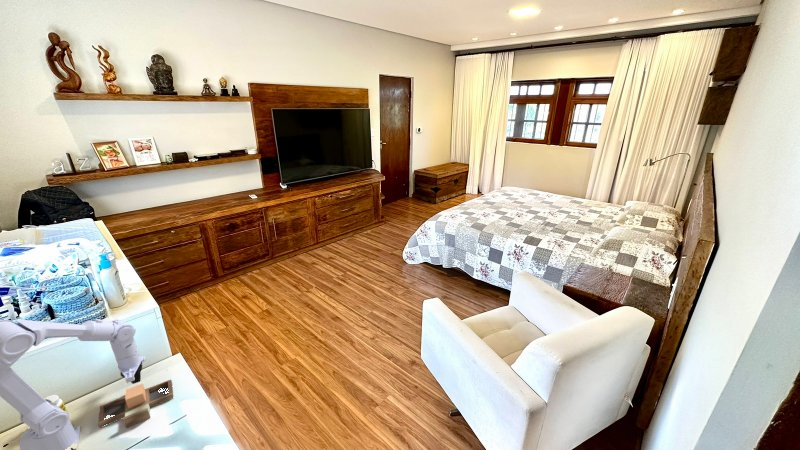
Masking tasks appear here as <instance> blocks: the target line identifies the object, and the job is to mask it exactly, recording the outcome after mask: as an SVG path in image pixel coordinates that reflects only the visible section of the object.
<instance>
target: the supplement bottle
mask: <svg viewBox="0 0 800 450" xmlns="http://www.w3.org/2000/svg"><path fill="white" fill-rule="evenodd" d="M43 398H44V397H43ZM44 399H48V400H50V401H52V403H53V404H55V405H56V406H58V407H59V408H60V409H62V410H63V411H66V412H68V413H69V411H68V409H67V406H66V405H65V403H64V401H63V400H62V398H60V397H59V395H57V394H52V395H48V396H46V397H45V398H44Z"/></svg>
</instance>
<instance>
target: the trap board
mask: <svg viewBox="0 0 800 450" xmlns="http://www.w3.org/2000/svg"><path fill="white" fill-rule="evenodd" d="M172 386H173V381H172V379H168V380H166V381H162V382H160V383H158V384H156V385H155V384H154V385H152V386H150V387H146V388H144V389H145V392H146V402H143V403H141V404H138V405H136V406H133V407H131V408H128V406H127V403H126V400H125V397H126V395H125V396H123V397H120V398H118V399H115V400H112V401H109V402H107V403H105V404H102V405H99V411H98V420H97V425H98V427H101V428H103V427H105V426H104V425H106V424H108V425H110V424H109V423H111V422H113V423H115V422H114V421H116V420H118V421H120V420H119V419H121V418H123V419H121V420H122V421H123V424H124V426H125V428H126V427H127V428H130V427H132V426H134V425H137V424H140V423H141V422H144V421H146V420H148V419H150V418H151V408H152V407H154V406H157V405H160V404H162V403H165V402H167V401H169V399H170V400H172V399H174V398H173V397H174V388H173V387H172ZM160 388H162V389H163V388H164V389H165V388H166V389H167V388H168V390H169V391H168V390H167V391H168V392H169V393H167V394H165V391H166V389H165V391H163V392H160V393H159V392H158V390H159V389H160ZM164 389H163V390H164ZM160 390H161V389H160ZM160 390H159V391H160ZM167 391H166V392H167ZM163 393H164V394H163ZM171 398H172V399H171ZM107 415H110V416H111V415H115V416H113V417H110V418H108V419H105V420H104V418H106V416H107ZM116 422H117V421H116ZM111 424H112V423H111ZM102 426H103V427H102ZM106 426H107V425H106ZM129 426H130V427H129Z"/></svg>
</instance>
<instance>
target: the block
mask: <svg viewBox="0 0 800 450" xmlns="http://www.w3.org/2000/svg"><path fill="white" fill-rule="evenodd" d="M145 389H146V388H145V387H144V383H140V384H138V385H136V386H133V387H131V388H127V389H125V396H126V397H125V396H124V397H125V400H126V403H127V406H128V408H131V407H133V406H136V405H138V404H141V403H143V402H146V392H145Z"/></svg>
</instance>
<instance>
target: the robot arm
mask: <svg viewBox="0 0 800 450" xmlns="http://www.w3.org/2000/svg"><path fill="white" fill-rule="evenodd" d="M15 321H16V322H17V323H16V322H15ZM15 321H13V320H12V319H11V320H10V319H0V398H1V399H3V400H4V401H5V402H6V403H7V404H9V405H10V406H11V407H12V408H14V409H15V410H16V411H17V412H18V413H19V415H20V416H19V419H20V420H19V421H20V422H21V423H22V424H25V425H26V426H28V427H29V430H26V431H25V432H23V433H22V434H21V436H20V440H19V448H20V450H65V449H67V448H68V447H70V446H71V445H72V444H73V443H74V444H77V442H78V443H79V440H78V439H80V434H81V433H80V432H81V426H80V425H78V426H76V427H74V426H73V425H72V423H71V420H70V413H69V411H68V412H66V411H63V410H62V409H60V408H59V407H58V406H56V405H55V404H53V403H52V401H50V400H48V399H44V397H43V396H42V395H41V394H40V393H38V392H37V391H36V389H34V388H33V387H32V386H31V385H30V384H29V383H27V381H26V380H25V379H24V378H22V377H21V376H20V375H19V374H18V373H17V372H16V371H15V370H14V369H13V368H12V366H13V365H14V364H15V363H16V362H17V361H18V360H19V359H20V358H21V357H22V356H24V354H25V353H27V352H28V351H29V350H30V349H31V347H33V346H34V347H37V346H39V345H40V344H41V343H42V342H43V341H44V340H45V339H51V338H52V339H54V338H55V339H56V338H78V340H79V341H80V342H108V341H109V343H110V347H111V349H112V352H113V354H114V357H115V360H116V363H117V368H118V370H119V371H120V373H119V374H120V377H121V378H124V380H125V382H126V384H129V383H131V384H133V385H134V384H137V383H140V382H141V375H142V374H141V372H142V371H143V370H142V369H143V362H145V361H146V356H145V355H140V352H139V349H138V346H137V343H136V340H135V337H134V336H135V334H136V331H137V330H136V328H135V327H134V326H132V325H131V324H128V323H126V322H125V321H122V320H119V319H117V318H116V319H113V320H111V321H103V320H102V319H100V318H99V319H98V318H95V319H94V320H87V321H85V322H83V323H82V324H79V323H78V324H76V323H64V322H52V321H41V320H40V321H39V320H30V319H15Z"/></svg>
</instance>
